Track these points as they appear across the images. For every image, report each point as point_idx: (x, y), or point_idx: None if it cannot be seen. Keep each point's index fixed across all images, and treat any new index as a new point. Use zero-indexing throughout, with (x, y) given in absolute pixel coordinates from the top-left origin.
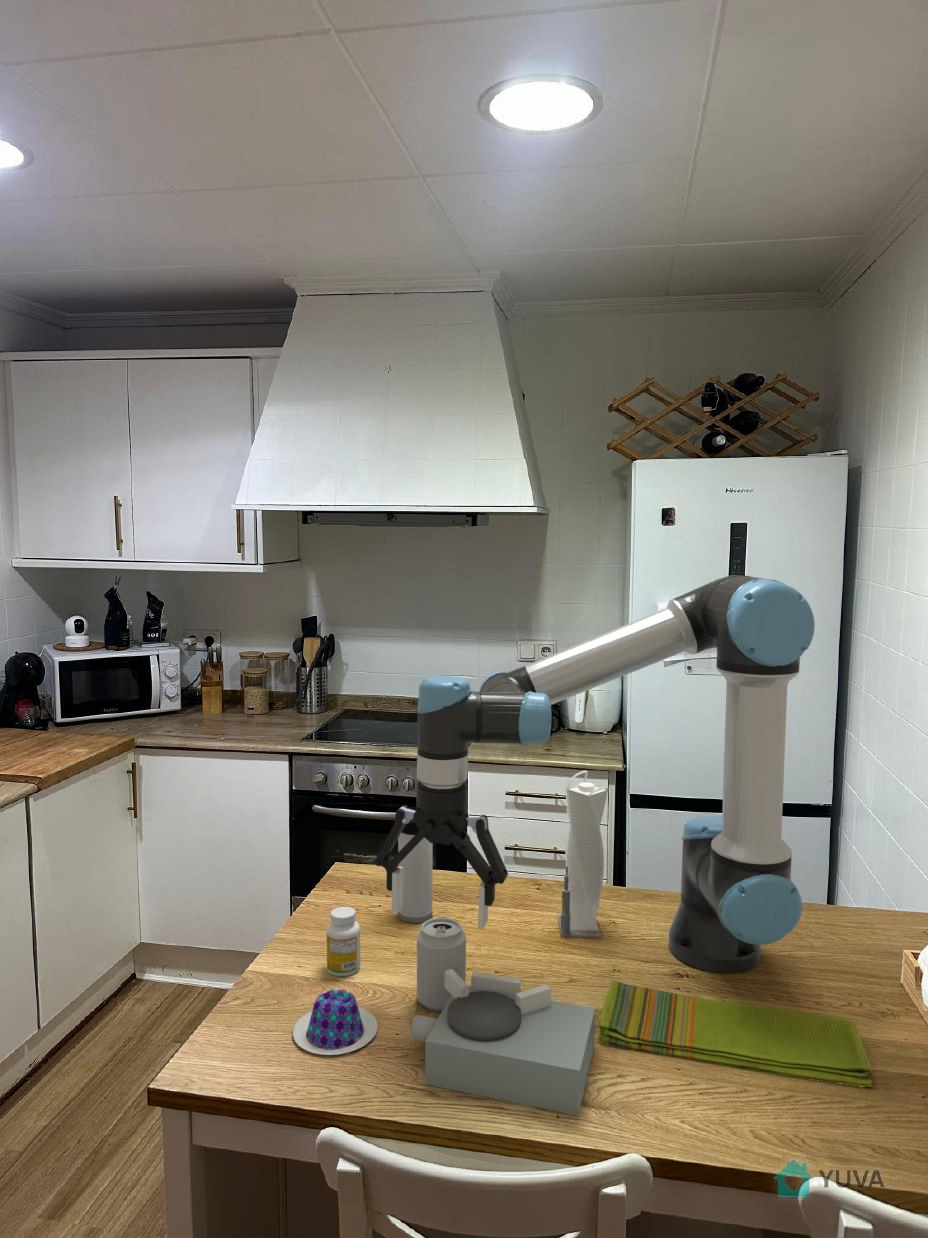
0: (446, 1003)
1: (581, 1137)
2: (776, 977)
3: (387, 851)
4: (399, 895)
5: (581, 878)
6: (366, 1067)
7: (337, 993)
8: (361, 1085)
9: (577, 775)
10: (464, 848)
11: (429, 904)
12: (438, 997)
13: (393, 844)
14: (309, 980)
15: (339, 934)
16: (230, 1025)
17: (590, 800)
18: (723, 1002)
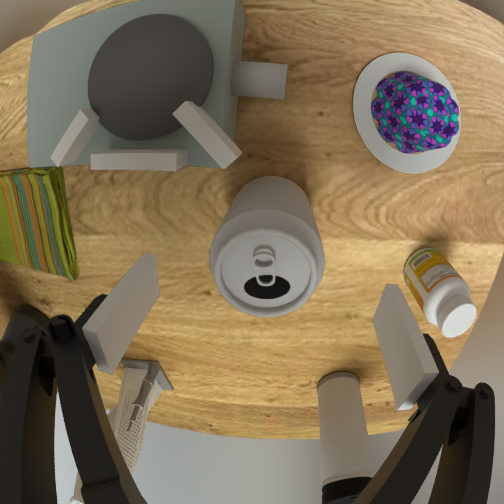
0: (225, 99)
1: (68, 18)
2: (5, 301)
3: (475, 435)
4: (391, 331)
5: (117, 415)
6: (342, 35)
7: (435, 136)
8: (335, 3)
9: None
10: (93, 477)
11: (321, 395)
12: (266, 180)
13: (453, 468)
14: (459, 233)
15: (456, 282)
16: None
17: (75, 494)
18: (6, 258)
